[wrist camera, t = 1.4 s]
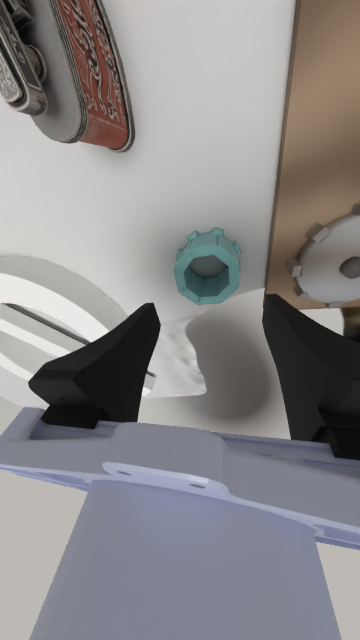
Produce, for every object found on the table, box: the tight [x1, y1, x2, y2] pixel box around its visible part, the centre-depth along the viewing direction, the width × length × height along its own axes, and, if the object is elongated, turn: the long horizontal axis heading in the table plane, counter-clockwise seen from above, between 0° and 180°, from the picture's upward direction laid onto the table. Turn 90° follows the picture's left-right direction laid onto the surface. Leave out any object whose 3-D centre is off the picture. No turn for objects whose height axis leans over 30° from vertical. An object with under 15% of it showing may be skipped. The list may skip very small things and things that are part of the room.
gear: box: [174, 227, 241, 305], centre depth 18 cm, size 6×6×4 cm
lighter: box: [0, 0, 135, 153], centre depth 9 cm, size 8×3×10 cm, turn 14°
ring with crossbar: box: [0, 256, 155, 396], centre depth 30 cm, size 28×28×5 cm
